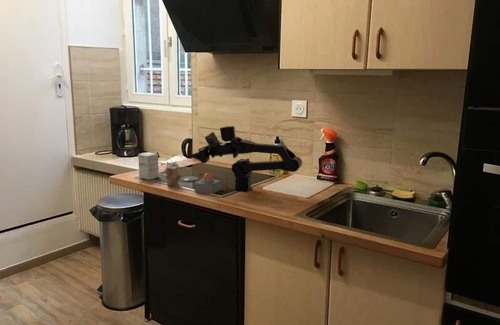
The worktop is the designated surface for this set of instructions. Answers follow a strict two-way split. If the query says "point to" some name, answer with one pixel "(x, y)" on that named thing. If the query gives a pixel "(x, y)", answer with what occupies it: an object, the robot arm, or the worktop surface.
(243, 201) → the worktop surface
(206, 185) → the button housing
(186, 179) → the slate coaster
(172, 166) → the white crumpled paper
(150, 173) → the supplement box
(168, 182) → the brown tapered cup
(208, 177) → the dome button
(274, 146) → the robot arm
